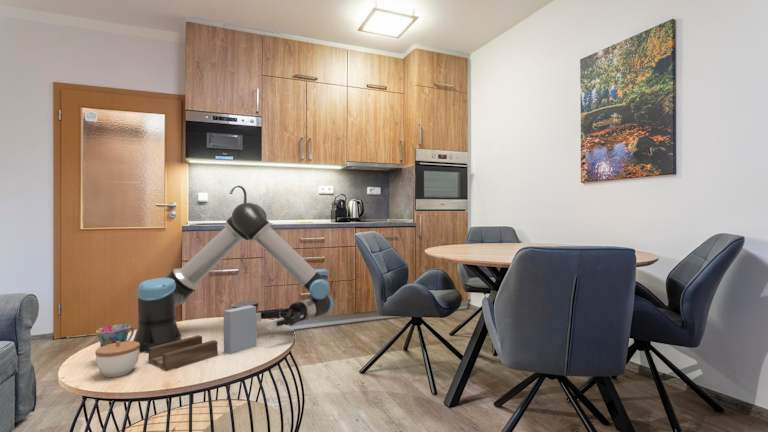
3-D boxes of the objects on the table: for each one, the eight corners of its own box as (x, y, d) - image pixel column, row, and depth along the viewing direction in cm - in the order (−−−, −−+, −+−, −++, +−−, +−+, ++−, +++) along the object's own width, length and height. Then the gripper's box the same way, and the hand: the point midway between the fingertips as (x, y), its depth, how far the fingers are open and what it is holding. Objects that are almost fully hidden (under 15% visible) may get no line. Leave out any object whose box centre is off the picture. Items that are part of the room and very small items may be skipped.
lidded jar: (116, 365, 118) (116, 335, 118) (148, 366, 117) (148, 335, 117) (85, 380, 107) (85, 346, 107) (120, 381, 106) (120, 347, 106)
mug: (112, 367, 116) (112, 333, 116) (88, 365, 118) (87, 331, 118) (145, 354, 128) (144, 322, 128) (121, 352, 130) (121, 321, 130)
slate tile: (224, 351, 129) (223, 310, 129) (250, 344, 137) (249, 305, 137) (230, 354, 126) (230, 312, 127) (256, 346, 134) (256, 306, 135)
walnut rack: (148, 361, 121) (148, 347, 121) (198, 347, 133) (198, 335, 133) (166, 371, 113) (166, 355, 113) (217, 355, 126) (217, 341, 126)
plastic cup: (236, 328, 157) (235, 299, 157) (262, 327, 158) (262, 298, 158) (227, 336, 146) (227, 305, 147) (256, 335, 147) (255, 304, 147)
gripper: (323, 324, 146) (278, 339, 129) (282, 315, 161) (236, 327, 144) (323, 305, 146) (278, 316, 129) (282, 298, 161) (236, 307, 144)
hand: (256, 322), depth 136 cm, fingers open, 13 cm apart
